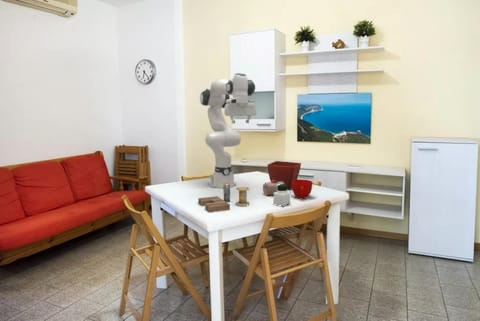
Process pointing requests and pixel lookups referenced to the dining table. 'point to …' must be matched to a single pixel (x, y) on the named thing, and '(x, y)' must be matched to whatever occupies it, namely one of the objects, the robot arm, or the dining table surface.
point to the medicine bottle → (281, 195)
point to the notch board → (214, 204)
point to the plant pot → (284, 172)
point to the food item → (271, 187)
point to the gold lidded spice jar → (226, 192)
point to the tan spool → (242, 196)
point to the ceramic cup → (301, 188)
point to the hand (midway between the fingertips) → (240, 123)
